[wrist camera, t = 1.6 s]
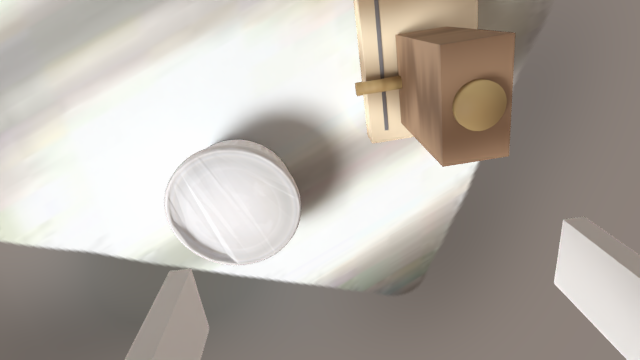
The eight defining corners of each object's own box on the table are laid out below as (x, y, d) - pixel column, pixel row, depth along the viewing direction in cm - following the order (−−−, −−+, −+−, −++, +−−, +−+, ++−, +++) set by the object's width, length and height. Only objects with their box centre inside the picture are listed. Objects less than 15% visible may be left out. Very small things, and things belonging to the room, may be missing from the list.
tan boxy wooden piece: (350, 42, 30) (377, 56, 20) (446, 26, 30) (521, 33, 20) (359, 129, 32) (387, 179, 23) (448, 115, 32) (514, 159, 23)
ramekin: (160, 200, 37) (140, 228, 32) (217, 104, 34) (204, 119, 29) (260, 253, 40) (256, 286, 35) (322, 170, 37) (326, 194, 32)
